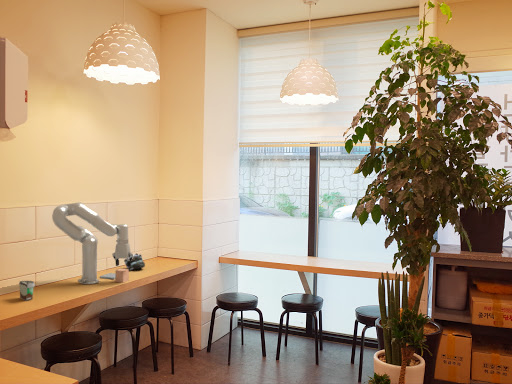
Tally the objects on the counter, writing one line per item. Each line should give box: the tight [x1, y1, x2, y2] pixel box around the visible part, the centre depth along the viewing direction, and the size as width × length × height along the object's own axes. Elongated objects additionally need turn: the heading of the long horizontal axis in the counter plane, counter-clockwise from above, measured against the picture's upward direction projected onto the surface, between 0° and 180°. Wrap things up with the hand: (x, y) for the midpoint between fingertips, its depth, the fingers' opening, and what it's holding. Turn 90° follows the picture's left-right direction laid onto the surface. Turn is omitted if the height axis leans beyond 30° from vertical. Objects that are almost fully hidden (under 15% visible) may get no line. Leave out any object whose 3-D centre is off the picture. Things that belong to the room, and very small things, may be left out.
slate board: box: [99, 272, 115, 280], centre depth 341 cm, size 12×12×1 cm
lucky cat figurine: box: [123, 253, 146, 272], centre depth 369 cm, size 15×12×14 cm
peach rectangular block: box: [114, 268, 130, 283], centre depth 329 cm, size 6×6×8 cm
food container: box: [18, 280, 36, 302], centre depth 279 cm, size 12×6×10 cm, turn 48°
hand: (123, 266), depth 329 cm, fingers open, 9 cm apart
